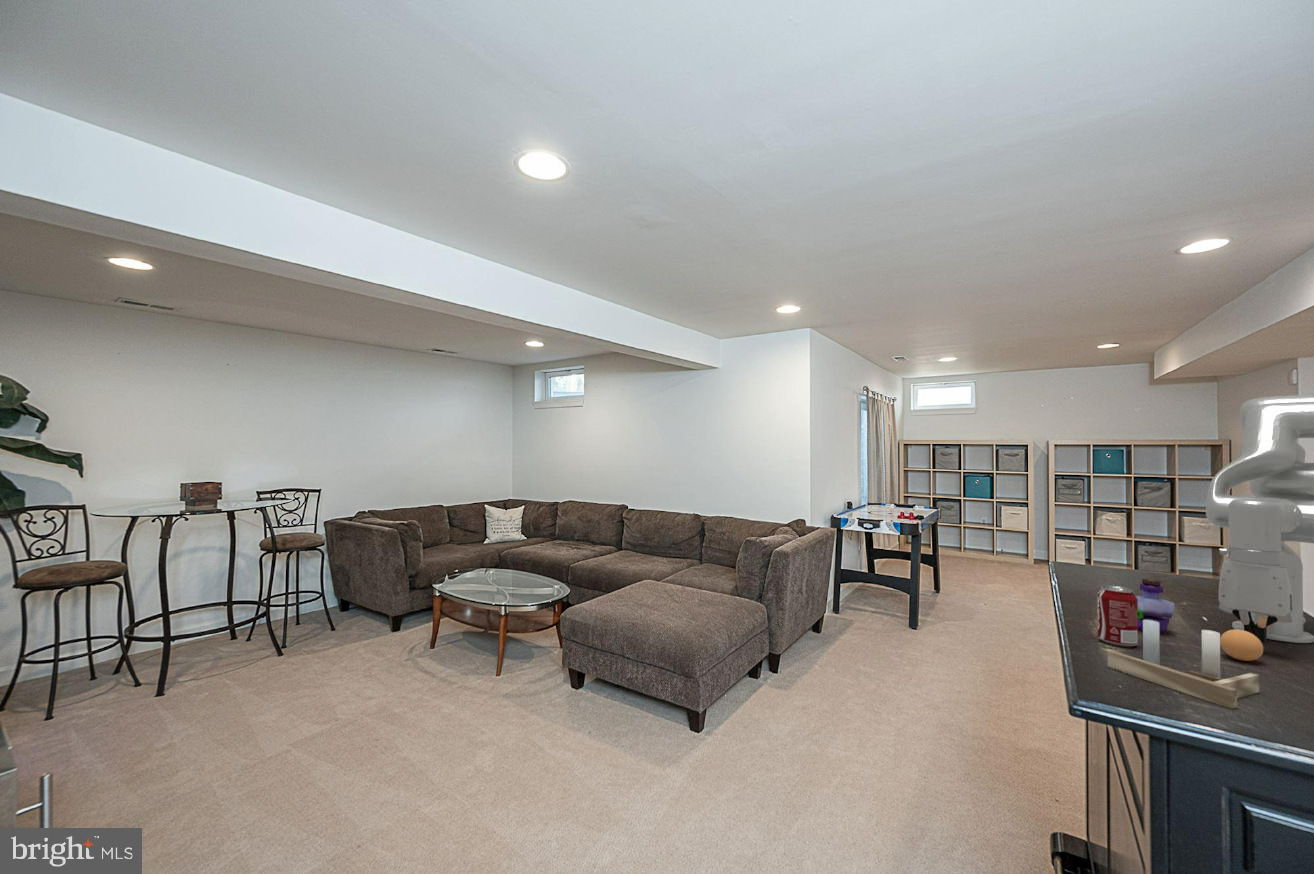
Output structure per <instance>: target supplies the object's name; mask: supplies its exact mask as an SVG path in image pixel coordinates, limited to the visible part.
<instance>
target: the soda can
mask: <svg viewBox="0 0 1314 874" xmlns="http://www.w3.org/2000/svg"><path fill="white" fill-rule="evenodd" d="M1100 588H1101V589H1100V590H1099V591H1098V592H1097V594H1096V595H1097V599H1096V603H1097V605H1096V607H1097V608H1096V609H1097V615H1096V616H1097V618H1096V619H1097V621H1096V622H1097V623H1096V624H1097V625H1096V626H1097V630H1096V633H1097V638H1098V639H1099V640H1100V641H1102V642H1104V643H1105V644H1108V645H1111V646H1115V647H1119V648H1120V647H1121V648H1131V647H1134V646H1137V645H1138V644H1139V640H1138V639H1139V629H1138V599H1137V598H1136V596H1137V595H1135V594H1134V592H1135V591H1134V589H1132V588H1129V587H1126V586H1121V585H1120V586H1119V585H1109V584H1103V585H1101V586H1100Z"/></svg>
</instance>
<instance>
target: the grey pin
mask: <svg viewBox="0 0 1314 874" xmlns="http://www.w3.org/2000/svg"><path fill="white" fill-rule="evenodd" d="M1160 649H1161V648H1160V634H1159V622H1157V621H1153V620H1143V631H1142V660H1144V661H1148V662H1151V663H1154V664H1157V665H1160V658H1161V656H1160V655H1161V653H1160V652H1161V650H1160ZM1160 666H1161V665H1160Z"/></svg>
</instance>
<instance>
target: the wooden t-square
mask: <svg viewBox="0 0 1314 874" xmlns="http://www.w3.org/2000/svg"><path fill="white" fill-rule="evenodd" d="M1107 667H1108V668H1109V667H1110V668H1109V669H1112V670H1115V669H1116V671H1118V670H1119V672H1121V671H1122V672H1121V673H1124V674H1127V673H1128V674H1127V675H1130V676H1133V677H1136V678H1139V679H1142V680H1145V681H1148V682H1151V683H1154V684H1157V685H1160V686H1162V687H1166V688H1168V689H1171V690H1174V691H1177V692H1181V693H1184V694H1186V695H1189V696H1192V697H1195V698H1198V699H1201V700H1204V701H1207V702H1209V703H1213V704H1216V705H1219V706H1222V707H1225V708H1227V709H1231V710H1234V709H1238V699H1239V698H1243V697H1246V696H1250V695H1254V694H1258V693H1260V675H1259V674H1257V673H1253V672H1249V673H1244V674H1240V675H1236V676H1231V677H1228V678H1221V677H1220V678H1217V677H1214V676H1210V675H1206V674H1202V672H1198V671H1194V670H1188V671H1187V673H1186V672H1183V671H1179V670H1176V669H1172V668H1170V667H1167V666H1164V665H1157V664H1154V663H1151V662H1148V661H1144V660H1143V659H1141V658H1137V657H1134V656H1131V655H1128V654H1124V653H1122V652H1118V651H1115V650H1109V651H1107Z"/></svg>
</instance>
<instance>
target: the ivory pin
mask: <svg viewBox="0 0 1314 874" xmlns="http://www.w3.org/2000/svg"><path fill="white" fill-rule="evenodd" d="M1220 638H1221V633H1220V632H1218V631H1215V630H1209V629H1201V673H1202V674H1206V675H1210V676H1214V677H1217V678H1221V644H1220Z"/></svg>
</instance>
